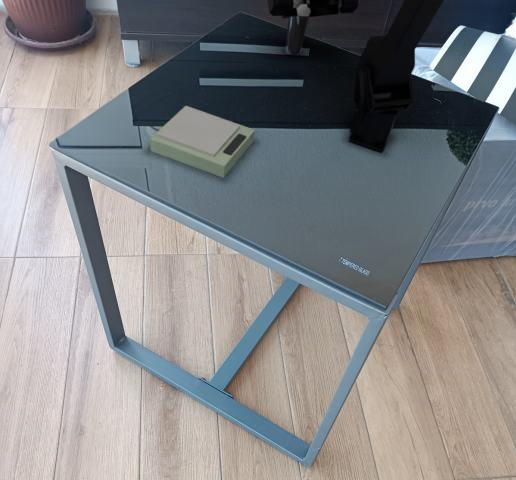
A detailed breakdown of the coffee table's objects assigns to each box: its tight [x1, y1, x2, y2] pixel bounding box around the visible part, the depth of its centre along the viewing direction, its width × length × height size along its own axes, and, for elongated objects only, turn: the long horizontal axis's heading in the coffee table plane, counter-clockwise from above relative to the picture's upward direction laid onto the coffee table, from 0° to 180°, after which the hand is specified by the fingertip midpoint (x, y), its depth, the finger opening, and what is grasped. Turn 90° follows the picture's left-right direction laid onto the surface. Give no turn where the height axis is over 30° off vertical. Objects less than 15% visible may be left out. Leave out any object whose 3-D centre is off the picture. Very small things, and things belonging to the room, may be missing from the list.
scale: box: [149, 105, 256, 179], centre depth 81 cm, size 13×12×3 cm
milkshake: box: [285, 4, 311, 56], centre depth 102 cm, size 4×5×10 cm
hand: (294, 15), depth 102 cm, fingers closed on milkshake, 5 cm apart
